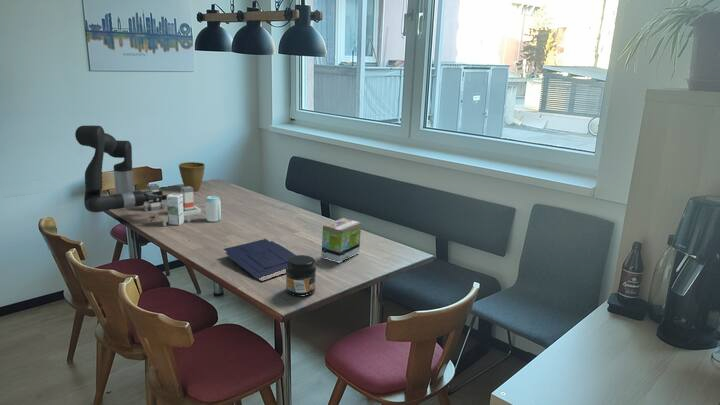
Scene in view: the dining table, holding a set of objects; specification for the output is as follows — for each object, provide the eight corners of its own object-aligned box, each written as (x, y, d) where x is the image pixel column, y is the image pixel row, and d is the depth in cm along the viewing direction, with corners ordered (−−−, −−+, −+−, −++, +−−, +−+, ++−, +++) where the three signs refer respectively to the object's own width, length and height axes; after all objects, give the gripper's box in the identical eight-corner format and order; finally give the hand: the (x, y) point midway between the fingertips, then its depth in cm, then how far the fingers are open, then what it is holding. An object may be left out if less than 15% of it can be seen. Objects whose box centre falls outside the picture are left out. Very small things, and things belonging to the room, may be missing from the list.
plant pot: (175, 192, 304) (173, 165, 300) (187, 186, 319) (186, 161, 314) (198, 194, 302) (197, 167, 298) (209, 188, 316) (209, 163, 312)
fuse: (148, 208, 270) (146, 184, 266) (157, 207, 273) (155, 183, 269) (151, 210, 267) (149, 186, 263) (160, 209, 270) (159, 185, 266)
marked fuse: (181, 211, 266) (180, 187, 262) (190, 210, 269) (189, 185, 265) (185, 213, 262) (184, 188, 259) (194, 212, 265) (193, 187, 262)
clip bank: (136, 210, 265) (135, 206, 265) (165, 206, 275) (165, 202, 274) (159, 227, 242) (159, 222, 242) (190, 221, 252) (190, 217, 251)
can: (203, 220, 255) (202, 197, 252) (213, 217, 261) (212, 194, 258) (213, 223, 252) (213, 199, 248) (223, 219, 258) (223, 196, 255)
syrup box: (184, 222, 251) (183, 193, 248) (179, 225, 246) (177, 196, 242) (173, 221, 252) (171, 192, 248) (167, 224, 246) (166, 195, 242)
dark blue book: (268, 243, 225) (269, 236, 224) (311, 272, 206) (312, 264, 204) (218, 256, 208) (219, 247, 207) (260, 288, 189) (260, 280, 188)
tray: (174, 212, 266) (174, 207, 265) (193, 209, 272) (193, 204, 272) (182, 217, 259) (182, 212, 258) (201, 214, 265) (201, 209, 265)
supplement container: (299, 300, 176) (300, 268, 173) (279, 290, 183) (279, 259, 179) (321, 291, 184) (322, 260, 180) (301, 282, 190) (302, 252, 187)
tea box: (340, 264, 209) (341, 230, 205) (320, 258, 214) (321, 225, 210) (360, 254, 221) (361, 221, 217) (340, 248, 226) (342, 216, 222)
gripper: (136, 195, 239) (170, 190, 249) (126, 188, 249) (159, 184, 260) (137, 210, 241) (171, 205, 252) (127, 203, 251) (160, 198, 262)
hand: (165, 194), depth 256 cm, fingers open, 8 cm apart
